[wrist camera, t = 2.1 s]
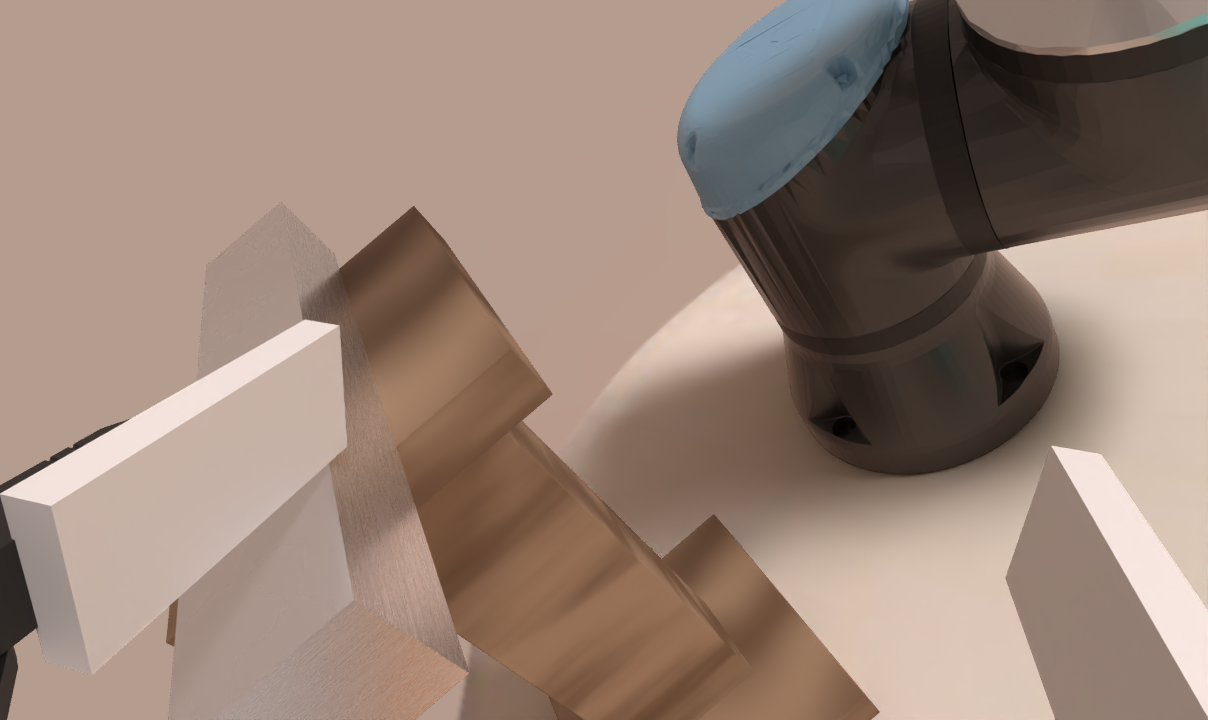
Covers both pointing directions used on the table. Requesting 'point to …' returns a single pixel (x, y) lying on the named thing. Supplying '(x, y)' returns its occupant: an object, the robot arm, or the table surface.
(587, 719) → the stand
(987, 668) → the table surface
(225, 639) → the grey block
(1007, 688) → the table surface
